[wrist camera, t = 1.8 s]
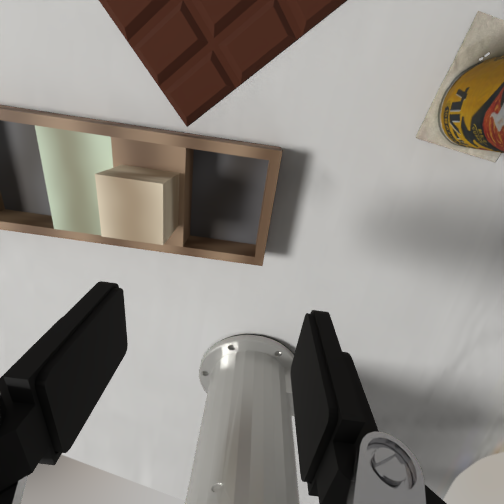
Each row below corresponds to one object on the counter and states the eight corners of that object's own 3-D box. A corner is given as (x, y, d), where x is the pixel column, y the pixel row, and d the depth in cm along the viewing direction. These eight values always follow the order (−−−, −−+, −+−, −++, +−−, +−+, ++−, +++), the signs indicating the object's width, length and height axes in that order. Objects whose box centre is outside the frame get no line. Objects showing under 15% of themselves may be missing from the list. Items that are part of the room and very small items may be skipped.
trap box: (280, 147, 24) (282, 151, 21) (262, 251, 28) (262, 266, 25) (-30, 100, 23) (-69, 98, 20) (1, 214, 27) (-28, 225, 25)
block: (179, 172, 22) (162, 183, 18) (178, 225, 24) (163, 245, 20) (122, 164, 22) (94, 174, 18) (125, 218, 24) (101, 236, 20)
